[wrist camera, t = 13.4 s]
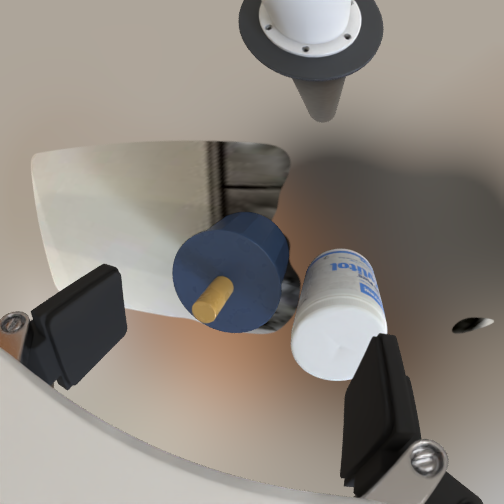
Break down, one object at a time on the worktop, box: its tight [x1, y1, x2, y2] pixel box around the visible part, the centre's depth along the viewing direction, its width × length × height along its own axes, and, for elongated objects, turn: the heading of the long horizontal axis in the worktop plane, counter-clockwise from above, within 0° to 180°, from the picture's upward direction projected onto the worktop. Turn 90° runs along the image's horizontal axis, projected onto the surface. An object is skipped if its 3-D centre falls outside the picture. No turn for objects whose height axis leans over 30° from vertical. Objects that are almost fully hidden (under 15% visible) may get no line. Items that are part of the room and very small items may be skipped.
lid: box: [172, 229, 281, 333], centre depth 29 cm, size 12×12×7 cm
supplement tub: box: [291, 249, 387, 381], centre depth 31 cm, size 10×10×15 cm
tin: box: [208, 212, 289, 284], centre depth 35 cm, size 11×11×10 cm
